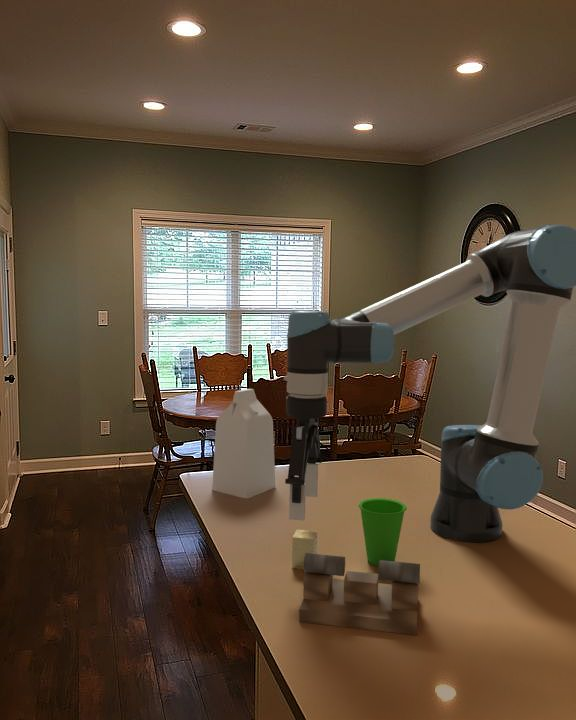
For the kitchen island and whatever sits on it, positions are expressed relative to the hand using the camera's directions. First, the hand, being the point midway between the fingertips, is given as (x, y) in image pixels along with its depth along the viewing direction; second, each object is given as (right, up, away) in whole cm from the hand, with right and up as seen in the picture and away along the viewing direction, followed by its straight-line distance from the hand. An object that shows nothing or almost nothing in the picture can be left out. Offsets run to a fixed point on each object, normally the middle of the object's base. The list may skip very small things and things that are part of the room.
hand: (303, 507), depth 120 cm
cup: (+15, -11, +3) cm, 19 cm away
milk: (-15, -6, +48) cm, 51 cm away
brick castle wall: (+9, -13, -16) cm, 22 cm away
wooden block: (0, -11, +1) cm, 11 cm away
